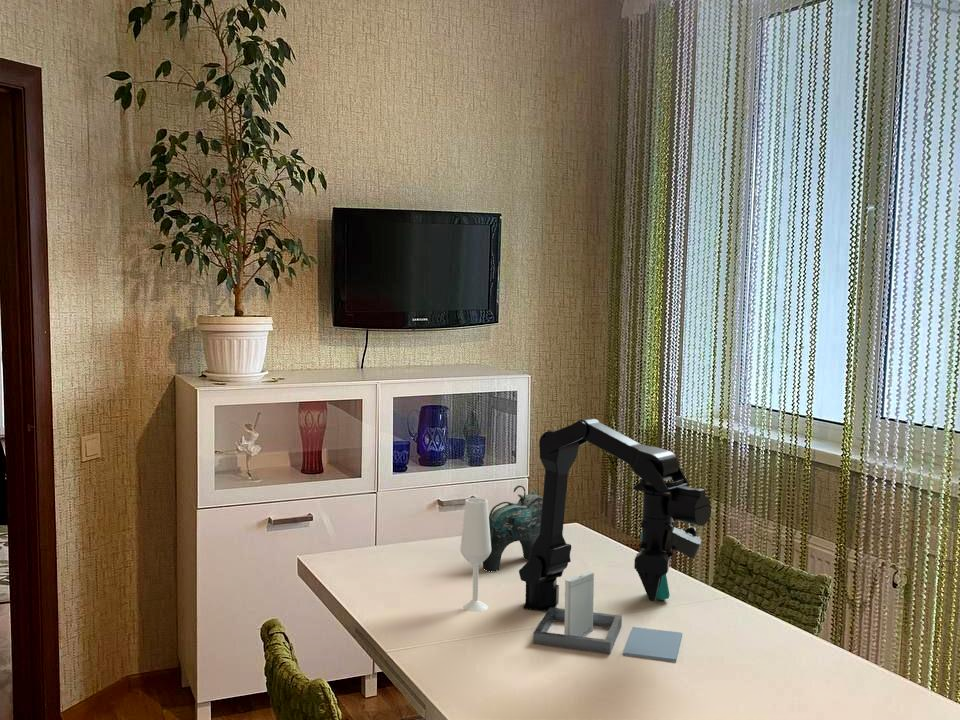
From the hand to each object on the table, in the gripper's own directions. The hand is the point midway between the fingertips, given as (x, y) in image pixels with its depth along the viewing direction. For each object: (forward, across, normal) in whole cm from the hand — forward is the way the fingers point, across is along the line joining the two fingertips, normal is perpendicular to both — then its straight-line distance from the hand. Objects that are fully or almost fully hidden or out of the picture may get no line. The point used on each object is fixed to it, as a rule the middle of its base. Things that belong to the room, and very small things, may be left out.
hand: (654, 593), depth 186 cm
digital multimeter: (+11, +28, +3) cm, 30 cm away
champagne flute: (+11, +8, +39) cm, 42 cm away
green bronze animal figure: (+11, +41, +39) cm, 58 cm away
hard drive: (+11, 0, +15) cm, 18 cm away
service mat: (+10, 0, 0) cm, 11 cm away
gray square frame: (+10, 0, +15) cm, 18 cm away
